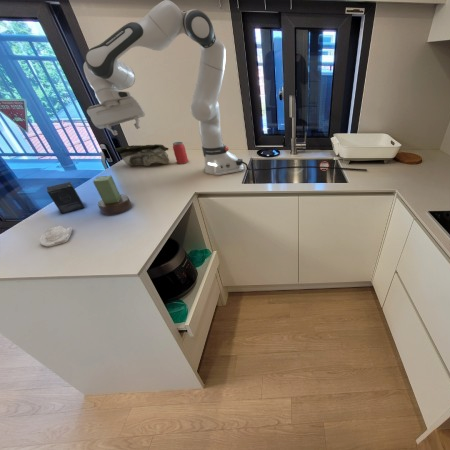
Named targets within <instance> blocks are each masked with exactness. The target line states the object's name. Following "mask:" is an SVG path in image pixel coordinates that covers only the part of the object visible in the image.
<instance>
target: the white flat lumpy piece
mask: <svg viewBox="0 0 450 450" xmlns="http://www.w3.org/2000/svg"><path fill="white" fill-rule="evenodd" d="M73 230H74V228H73V227H71V226H70V227H67V228H64V227H63V226H62V225H56V226H54V227H49V228H47V230H46V231H45V232H44V234H42V235H41V236H39V240H38V243H39V244H40V245H42V246H44V247H47V248H50V247H53V246H56V245H61V244H65V243H66V242H68V241H69V239H70V237H71V235H72V232H73Z"/></svg>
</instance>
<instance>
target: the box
mask: <svg viewBox="0 0 450 450" xmlns="http://www.w3.org/2000/svg"><path fill="white" fill-rule="evenodd" d="M46 190H47V191H46V192H47V194H48V195H49V197H50V199H51V200H52V201H53V203H54V204H55V206H56V207H57V209H58V211H59V212H60V214H66V213H70V212H74V211H77V210H81V209H85V206H84V202H83V201H82V199H81V197H80V195H79V194H78V192H77V190H76V188H75V187H74V185H73V183H72V182H71V181H68V182H64V183H59V184H55V185H50V186H47V187H46Z"/></svg>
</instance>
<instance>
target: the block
mask: <svg viewBox="0 0 450 450" xmlns="http://www.w3.org/2000/svg"><path fill="white" fill-rule="evenodd" d="M92 183H93V185H94V187H95V188H96V190H97V191H96V192H98V194H99V197H100V199H101V200H103V202H104V204H109V203H116V202H119V200H120V198H121V196H120V195H121V193H120V191H119V189H118V187H117V184H116V182H115V181H114V177H113V176H112V175H103V176H96V177H95V179H94V180H93V181H92Z"/></svg>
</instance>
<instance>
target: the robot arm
mask: <svg viewBox="0 0 450 450" xmlns="http://www.w3.org/2000/svg"><path fill="white" fill-rule="evenodd" d="M182 34H184V35H186V36H187V37H189V39H191V40H192V41H194V42H196V43H197V44H198V45H199V47H200V58H199V66H198V73H197V80H196V84H195V87H194V91H193V95H192V100H191V104H190V108H189V109H190V114H191V115H192V117H193V118H194V119H195V120H197V121H198V122H199V137H200V140H201V151H202V155H203V157H204V172H205V173H206V174H211V175H215V176H223V175H228V174H233V173H239V172H244V169H245V168H246V169H247V170H248V171H254V172H255V171H268V170H281V169H282V170H283V169H333V170H348V171H368V169H367V168H353V167H337V166H319V165H302V166H301V165H300V166H299V165H298V166H297V165H296V166H278V167H264V168H255V169H251V168H249V165H248V163H246V162H245V161H244V160H243V158H238V156H237V155H236V154H235V153H232V152H230V151H229V147H228V146H227V144H224V141H223V136H222V130H221V112H220V103H219V101H218V100H219V96H220V93H221V90H222V85H223V79H224V75H225V68H226V67H225V66H226V60H227V59H226V58H227V56H226V53H227V52H226V51H227V50H226V46H225V44H224V43H223V42H222V40H220V39H218V38H217V36H216V33H215V30H214V27H213V23H212V21H211V19H210V17H209V16H208V15H207V14H206V13H205V12H203V11H201V10H199V9H189V10H182V9H180V8H179V6H178V5H177V4H176V3H175V2H173V1H171V0H162V1H160V2H159V3H157V4H156V5H155V6H153V7H152V8H151V9H150V10H149V11H148V12H147V14H145V15H144V17H142V18H140V19H139V20H137V21H130V22H128V23H126V24H124V25H122V27H120V28H119V29H118V30H116V31H115V32H113V34H111V35H110V36H109V37H108V38H107V39H105V40H104V41H102V42H100V43H99V44H97V45H95V46H93V47H91V48H89V49H88V50H87V51H86V53H85V56H84V60H85V61H84V63H83V72H84V75H85V78H86V81H87V82H88V84H89V86H90V88H91V89H92V90H93V91H94V94H95V95H94V96H95V98H96V99H97V101H98V103H97V104H94V105H90V106H88V107H87V109H86V113H87V114H88V117H90V120H91V122H92V123H93V126H95V127H96V128H98V130H99V129H100V130H102V129H105V128H106V130H108V131H110V132H111V134H112V135H113V136H118V134H119V133H118V131H117V130H115V129H112V127H113V126H117V125H120V124H123V123H126V122H129V121H134V120H135V123H133V125H134V127H135V129H136V130H138V129H141V126H140V119H141V118H144V117H145V116H146V112H145V111H144V109H143V107H142V106H141V105H140V103H139V102H138V101H137V99H135V97H134V96H133V95H132V93H131V92H129V91H124V90H127V89H129V88H132V87H133V85H134V84H135V82H136V75H135V72H134V70H133V69H132V68H131V67H130V66H128V65H127V64H125V62H123V61H122V60H120V58H122V56H123V55H126V53H128V51H130V50H131V49H132V48H133V49H134V48H135V47H141V48H146V49H149V50H152V51H156V52H159V51H160V52H161V51H163V50H165V49H166V48H168V47H169V46H170V45H171V44H172V43H173V42H174V40H176V38H177V37H178V36H180V35H182ZM244 165H245V167H244Z"/></svg>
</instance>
